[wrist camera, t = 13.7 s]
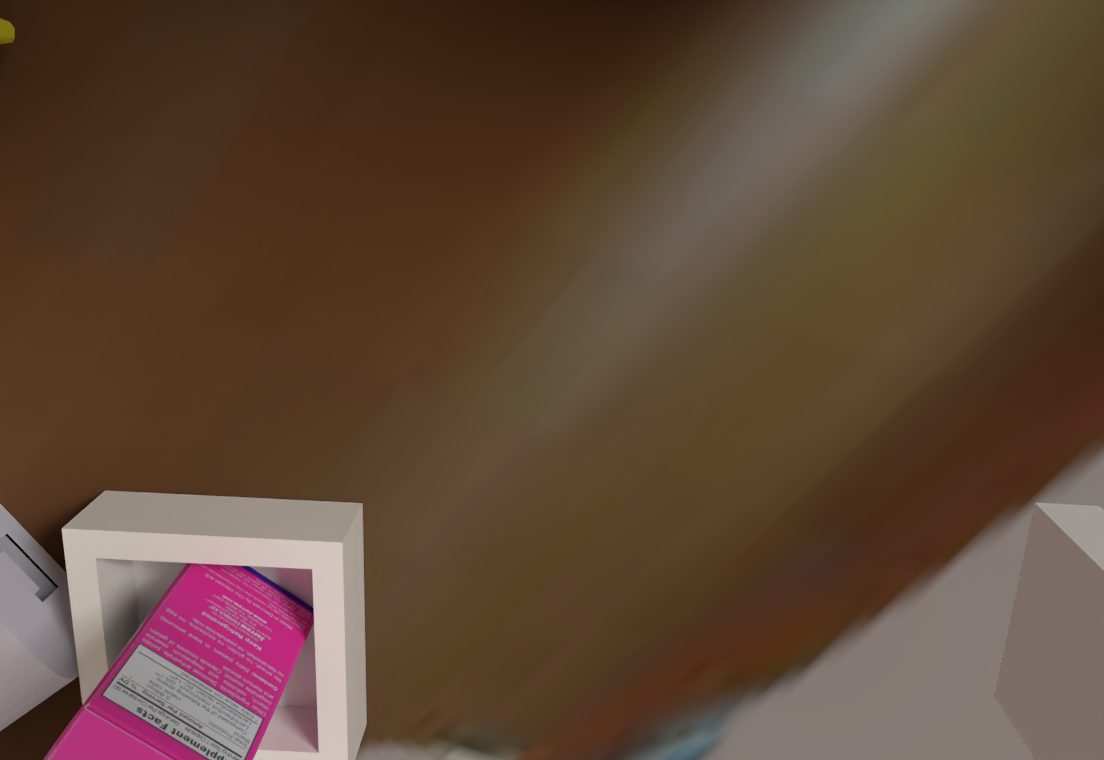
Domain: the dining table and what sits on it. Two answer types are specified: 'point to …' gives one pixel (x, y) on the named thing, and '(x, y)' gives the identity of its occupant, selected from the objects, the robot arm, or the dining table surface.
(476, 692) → the dining table surface
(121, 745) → the supplement box
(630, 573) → the dining table surface
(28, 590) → the charger
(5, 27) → the yellow honey pot
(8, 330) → the dining table surface
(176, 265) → the dining table surface
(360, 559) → the white shadow box frame
